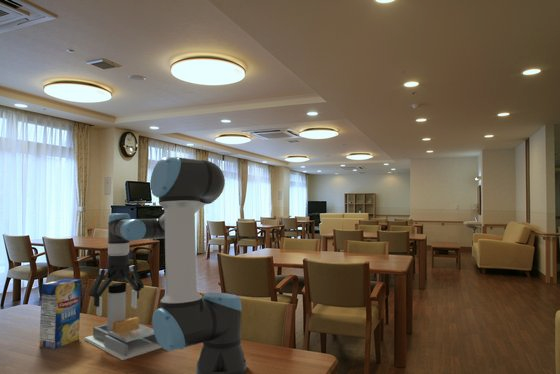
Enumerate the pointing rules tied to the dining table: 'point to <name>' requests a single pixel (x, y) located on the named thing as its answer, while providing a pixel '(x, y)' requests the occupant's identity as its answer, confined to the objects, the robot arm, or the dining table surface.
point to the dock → (121, 344)
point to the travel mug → (116, 304)
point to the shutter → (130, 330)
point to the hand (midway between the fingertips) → (117, 311)
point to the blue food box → (60, 313)
